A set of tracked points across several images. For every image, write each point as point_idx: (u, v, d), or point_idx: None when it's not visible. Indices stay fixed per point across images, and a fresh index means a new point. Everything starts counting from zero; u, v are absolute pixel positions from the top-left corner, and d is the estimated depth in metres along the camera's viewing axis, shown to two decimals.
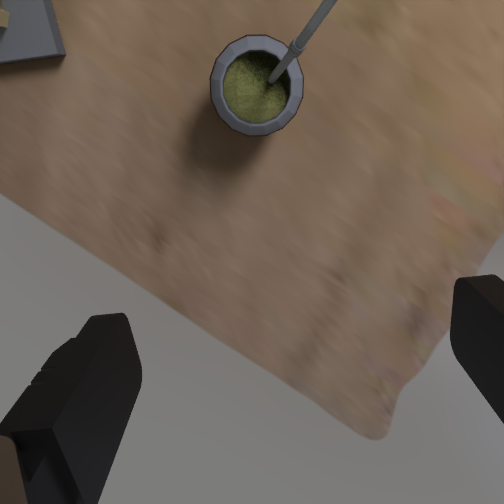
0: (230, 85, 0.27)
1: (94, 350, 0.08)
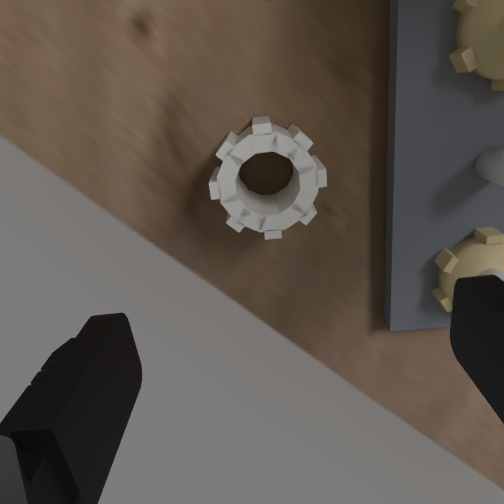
0: None
1: (94, 350, 0.08)
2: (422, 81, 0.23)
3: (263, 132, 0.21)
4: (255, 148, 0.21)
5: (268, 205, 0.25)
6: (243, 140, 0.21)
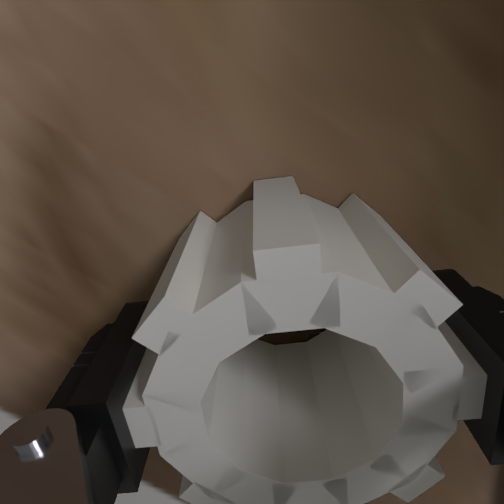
0: None
1: None
2: None
3: (292, 273, 0.06)
4: (264, 319, 0.06)
5: (295, 407, 0.10)
6: (223, 296, 0.06)
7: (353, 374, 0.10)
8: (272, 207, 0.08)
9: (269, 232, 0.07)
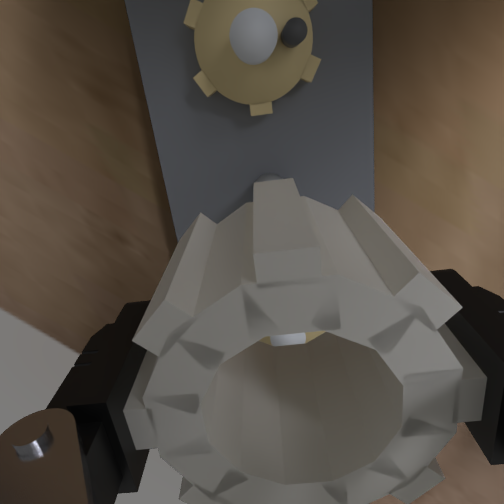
0: None
1: (134, 333, 0.08)
2: (175, 105, 0.21)
3: (292, 276, 0.06)
4: (264, 322, 0.06)
5: (295, 409, 0.10)
6: (223, 299, 0.06)
7: (353, 376, 0.10)
8: (272, 209, 0.08)
9: (269, 235, 0.07)
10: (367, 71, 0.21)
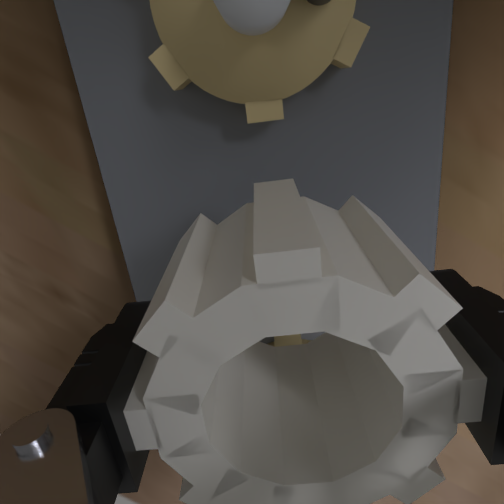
0: None
1: (134, 333, 0.08)
2: (127, 104, 0.13)
3: (292, 277, 0.06)
4: (264, 323, 0.06)
5: (295, 409, 0.10)
6: (224, 300, 0.06)
7: (353, 376, 0.10)
8: (272, 210, 0.08)
9: (269, 236, 0.07)
10: (440, 51, 0.12)
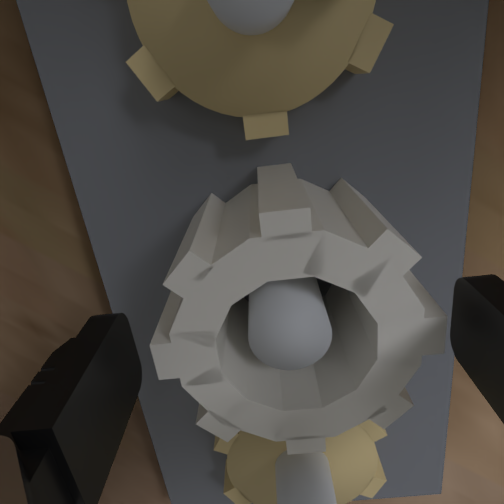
0: None
1: (94, 350, 0.08)
2: (104, 116, 0.11)
3: (289, 231, 0.08)
4: (267, 269, 0.08)
5: None
6: (235, 250, 0.08)
7: (341, 330, 0.11)
8: (273, 185, 0.10)
9: (271, 201, 0.08)
10: (472, 53, 0.11)
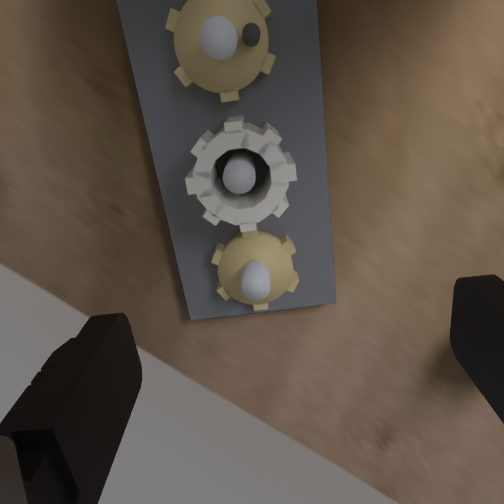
0: None
1: (94, 350, 0.08)
2: (161, 95, 0.26)
3: (234, 130, 0.22)
4: (227, 145, 0.23)
5: (244, 200, 0.26)
6: (216, 137, 0.23)
7: (265, 186, 0.26)
8: (232, 119, 0.24)
9: (229, 121, 0.23)
10: (316, 65, 0.25)
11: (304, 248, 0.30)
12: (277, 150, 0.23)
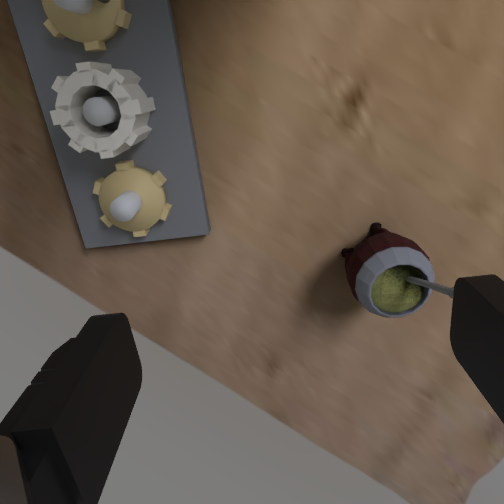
0: (376, 287, 0.32)
1: (94, 350, 0.08)
2: (40, 45, 0.31)
3: (85, 69, 0.28)
4: (81, 82, 0.28)
5: (109, 134, 0.31)
6: (71, 76, 0.28)
7: None
8: None
9: None
10: (167, 22, 0.30)
11: (175, 183, 0.35)
12: (122, 87, 0.28)
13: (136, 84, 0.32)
